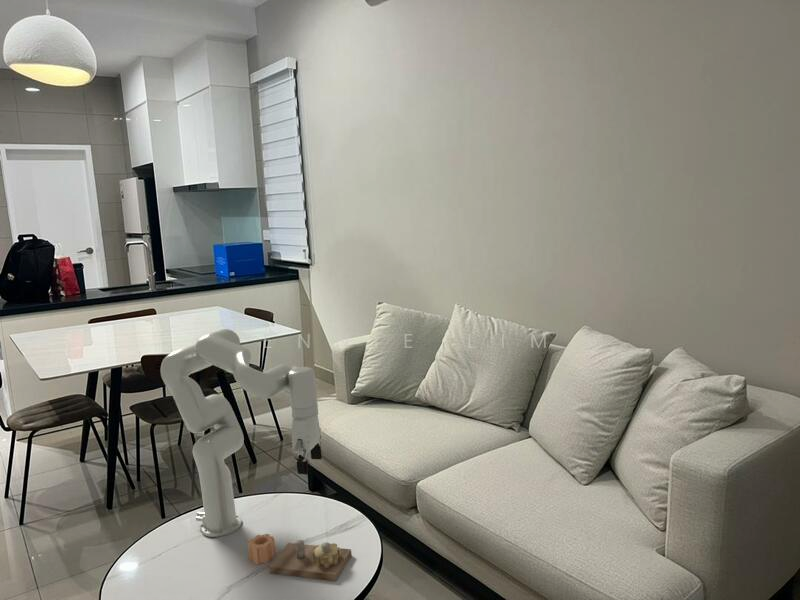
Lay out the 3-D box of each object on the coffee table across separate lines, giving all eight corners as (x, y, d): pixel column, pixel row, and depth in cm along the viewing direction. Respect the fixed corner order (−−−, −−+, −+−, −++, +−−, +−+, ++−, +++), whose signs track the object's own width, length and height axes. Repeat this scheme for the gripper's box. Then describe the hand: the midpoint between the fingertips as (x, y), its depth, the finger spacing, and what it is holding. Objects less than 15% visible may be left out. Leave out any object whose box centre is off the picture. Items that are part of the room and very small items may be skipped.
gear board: (269, 573, 170) (267, 551, 169) (289, 548, 181) (286, 528, 180) (335, 581, 164) (333, 559, 163) (351, 555, 176) (349, 535, 175)
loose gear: (245, 562, 176) (243, 546, 175) (257, 548, 183) (256, 532, 182) (268, 565, 174) (266, 549, 173) (280, 550, 181) (278, 535, 180)
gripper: (304, 399, 184) (309, 453, 187) (279, 421, 168) (285, 479, 170) (328, 400, 182) (332, 454, 185) (304, 422, 166) (310, 480, 168)
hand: (310, 466), depth 178 cm, fingers open, 9 cm apart
